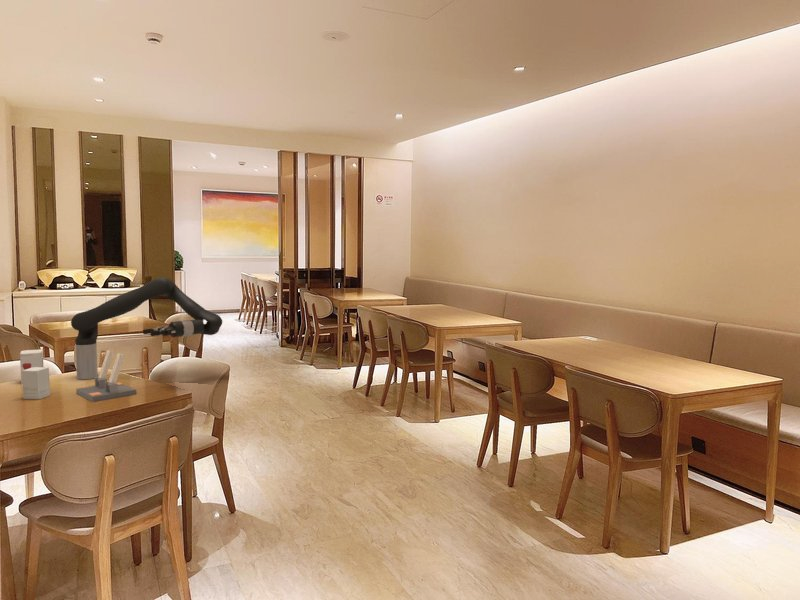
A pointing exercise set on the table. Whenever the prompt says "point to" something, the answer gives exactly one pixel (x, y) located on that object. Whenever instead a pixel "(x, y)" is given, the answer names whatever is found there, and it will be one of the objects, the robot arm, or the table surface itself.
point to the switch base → (105, 391)
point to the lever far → (105, 365)
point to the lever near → (116, 369)
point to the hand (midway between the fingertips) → (146, 332)
